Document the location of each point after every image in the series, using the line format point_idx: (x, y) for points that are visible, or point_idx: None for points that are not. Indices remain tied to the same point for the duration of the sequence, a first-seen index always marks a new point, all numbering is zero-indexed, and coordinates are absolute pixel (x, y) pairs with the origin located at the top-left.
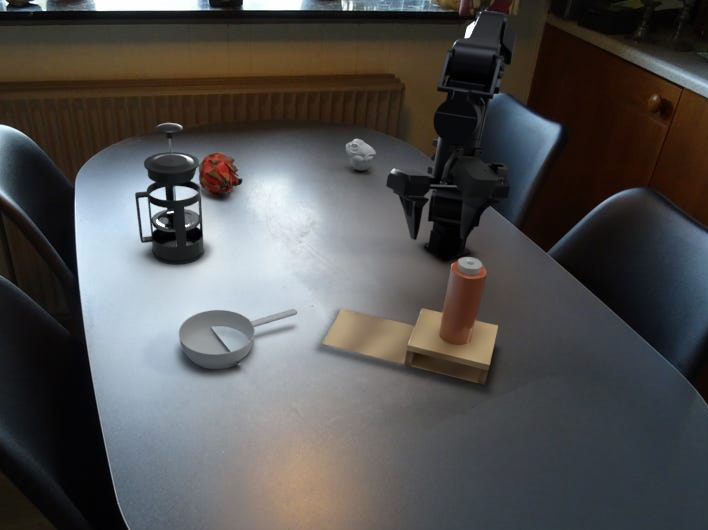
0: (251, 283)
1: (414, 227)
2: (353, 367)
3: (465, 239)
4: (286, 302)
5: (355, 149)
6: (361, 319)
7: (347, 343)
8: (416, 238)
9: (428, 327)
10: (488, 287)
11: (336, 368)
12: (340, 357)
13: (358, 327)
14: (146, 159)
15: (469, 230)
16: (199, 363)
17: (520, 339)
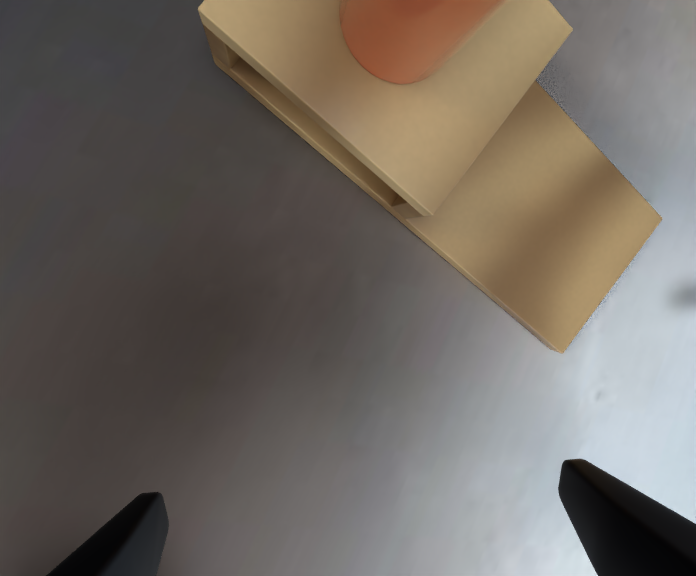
0: (682, 508)
1: (690, 522)
2: (612, 126)
3: (146, 493)
4: (644, 420)
5: None
6: (538, 293)
7: (611, 200)
8: (573, 462)
9: (467, 96)
10: (36, 405)
11: (646, 136)
12: (622, 174)
13: (559, 261)
14: None
15: (96, 550)
16: None
17: (78, 81)
